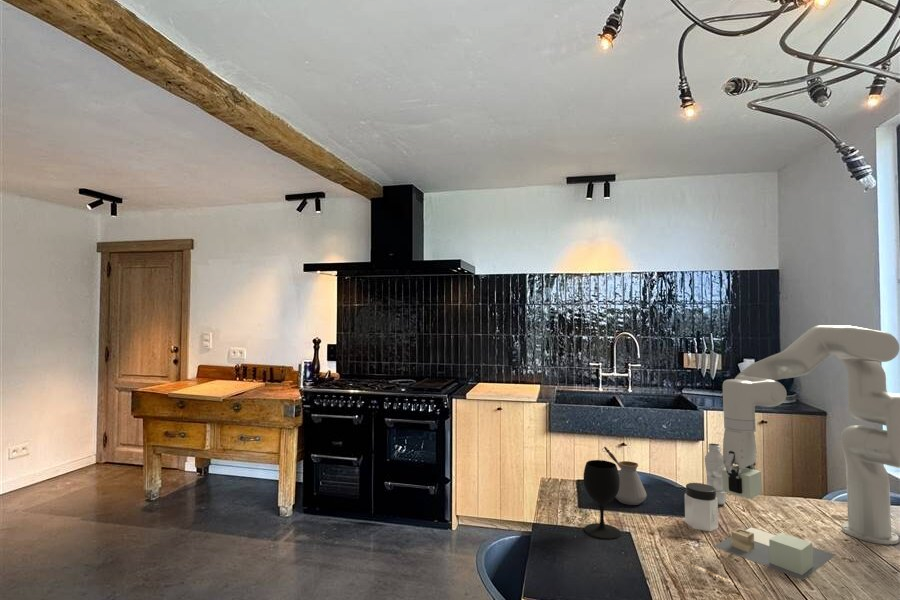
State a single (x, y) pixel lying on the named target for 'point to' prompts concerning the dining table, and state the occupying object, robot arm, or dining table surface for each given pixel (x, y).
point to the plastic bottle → (715, 471)
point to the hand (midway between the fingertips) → (742, 488)
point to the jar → (701, 506)
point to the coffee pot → (629, 483)
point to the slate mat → (763, 553)
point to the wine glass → (601, 494)
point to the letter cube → (742, 539)
